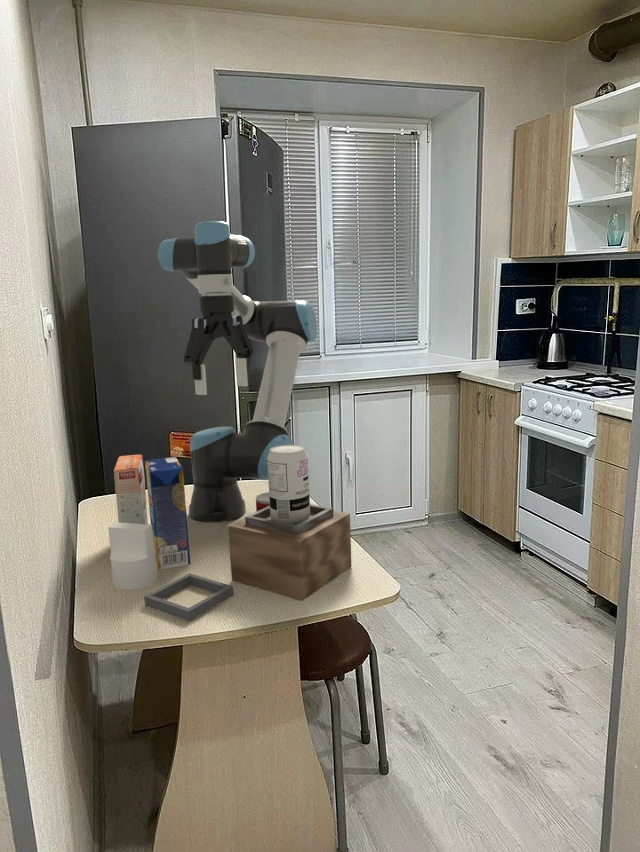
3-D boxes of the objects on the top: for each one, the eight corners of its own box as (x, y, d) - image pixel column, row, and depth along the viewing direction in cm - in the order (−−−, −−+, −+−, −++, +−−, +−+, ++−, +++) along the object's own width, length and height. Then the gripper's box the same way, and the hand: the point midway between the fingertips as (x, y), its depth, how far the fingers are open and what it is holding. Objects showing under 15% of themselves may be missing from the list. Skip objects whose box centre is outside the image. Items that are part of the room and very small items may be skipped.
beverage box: (183, 547, 155) (175, 456, 150) (190, 564, 145) (182, 468, 140) (153, 552, 152) (144, 460, 148) (159, 569, 142) (150, 472, 138)
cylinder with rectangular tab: (104, 587, 135) (98, 532, 132) (128, 569, 143) (122, 517, 141) (143, 591, 132) (138, 535, 130) (165, 572, 141) (160, 519, 138)
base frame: (190, 582, 136) (189, 573, 135) (233, 595, 129) (233, 586, 129) (145, 605, 126) (144, 596, 126) (189, 621, 119) (188, 611, 119)
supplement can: (270, 513, 139) (266, 445, 136) (309, 511, 140) (306, 443, 137) (270, 527, 131) (266, 454, 128) (311, 524, 132) (308, 452, 129)
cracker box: (148, 555, 150) (139, 467, 146) (121, 558, 149) (111, 470, 145) (150, 534, 164) (143, 453, 160) (125, 536, 163) (117, 455, 159)
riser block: (284, 550, 150) (281, 494, 147) (351, 566, 140) (349, 506, 137) (231, 580, 136) (227, 518, 133) (302, 600, 126) (299, 534, 123)
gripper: (187, 296, 133) (195, 399, 137) (265, 293, 153) (269, 383, 157) (161, 296, 137) (170, 397, 141) (240, 293, 157) (246, 381, 161)
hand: (222, 390), depth 149 cm, fingers open, 13 cm apart
